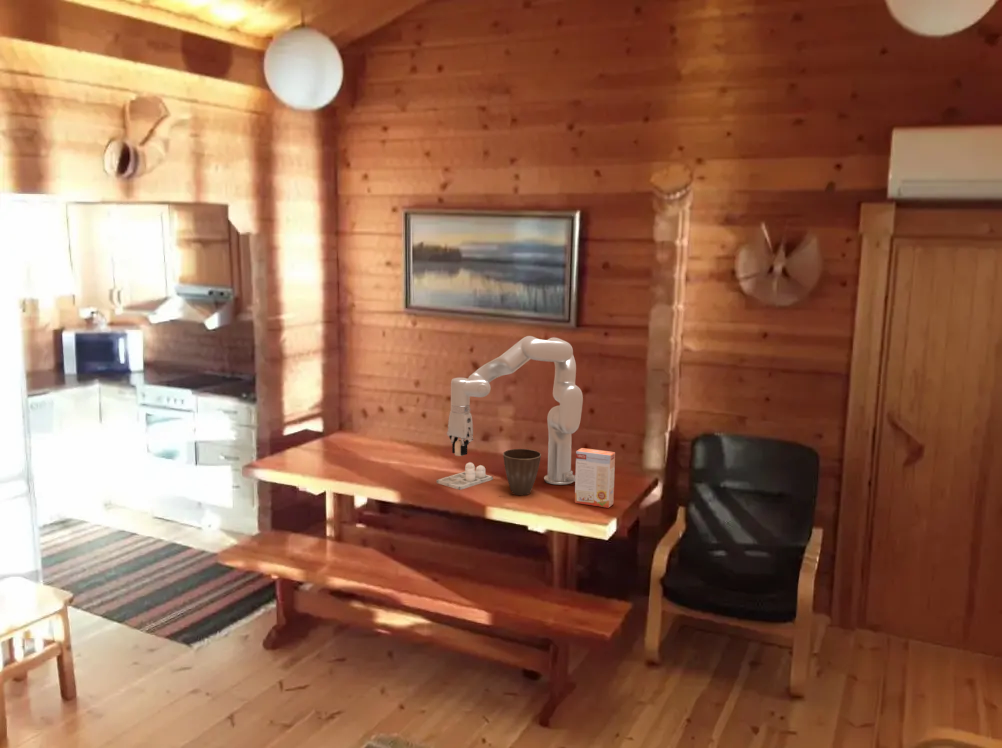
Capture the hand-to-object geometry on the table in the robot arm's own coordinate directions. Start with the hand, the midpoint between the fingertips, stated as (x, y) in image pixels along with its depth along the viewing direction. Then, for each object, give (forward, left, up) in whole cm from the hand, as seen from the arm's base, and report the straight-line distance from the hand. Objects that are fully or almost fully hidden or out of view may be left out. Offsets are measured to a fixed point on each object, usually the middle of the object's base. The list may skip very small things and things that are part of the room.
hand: (459, 453), depth 349 cm
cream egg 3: (0, -12, -14) cm, 18 cm away
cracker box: (-51, -22, -15) cm, 57 cm away
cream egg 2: (0, -6, -14) cm, 15 cm away
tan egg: (0, 0, -1) cm, 1 cm away
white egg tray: (+3, -6, -15) cm, 16 cm away
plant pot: (-22, -13, -15) cm, 29 cm away
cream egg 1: (+6, -12, -14) cm, 19 cm away
